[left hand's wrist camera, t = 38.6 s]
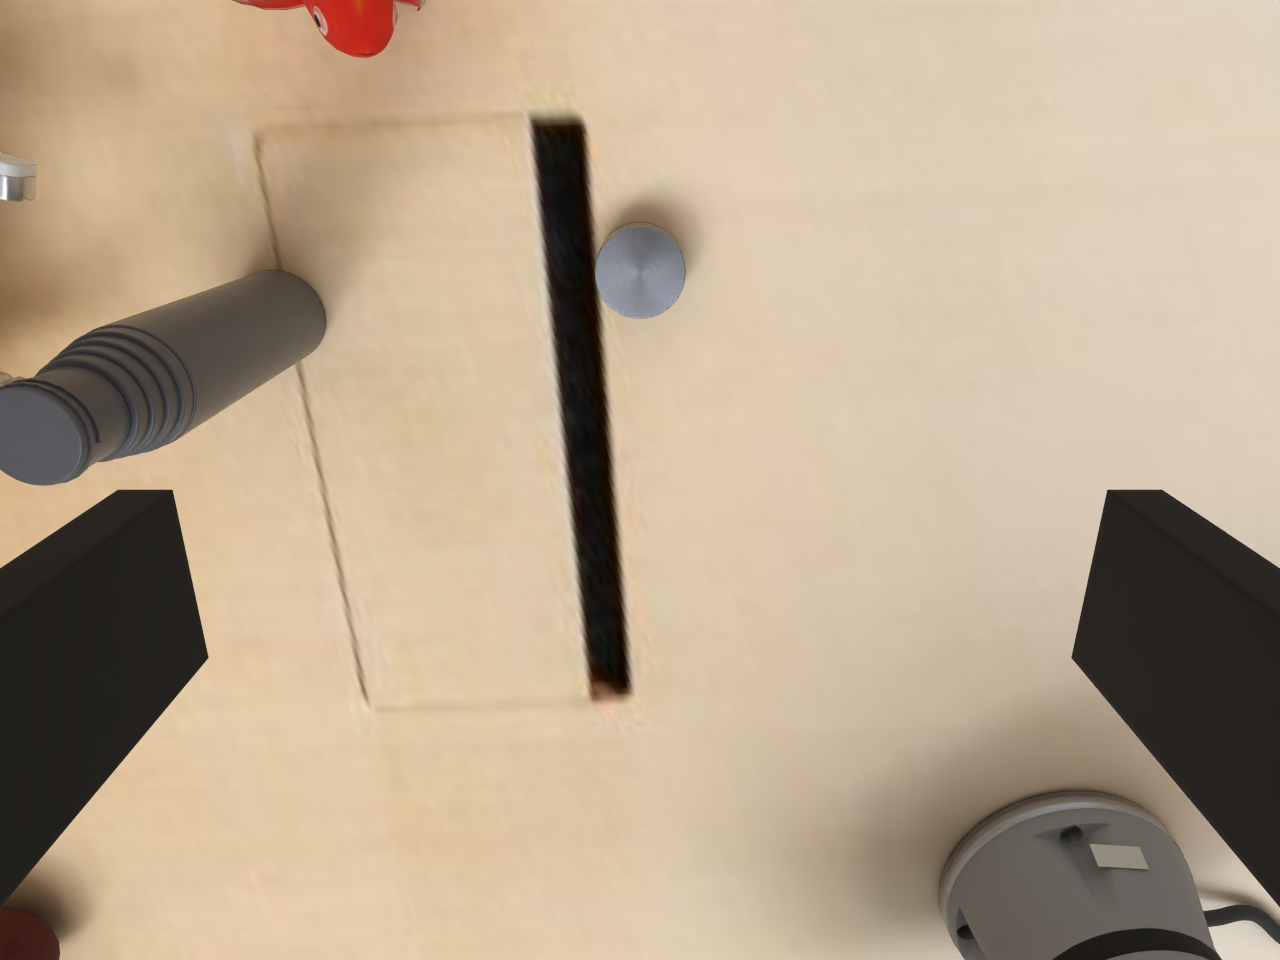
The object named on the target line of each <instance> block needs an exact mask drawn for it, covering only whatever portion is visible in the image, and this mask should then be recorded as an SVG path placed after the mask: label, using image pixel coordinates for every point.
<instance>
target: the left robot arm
mask: <svg viewBox="0 0 1280 960" xmlns="http://www.w3.org/2000/svg"><path fill="white" fill-rule="evenodd" d="M207 659H208V653H207V648H206V644H205V639H204V634H203V630H202V625H201V620H200V616H199V611H198V606H197V602H196V597H195V592H194V588H193V583H192V578H191V574H190V569H189V564H188V560H187V555H186V550H185V546H184V541H183V536H182V532H181V527H180V522H179V518H178V513H177V508H176V504H175V499H174V494H173V490H117V491H115V492H114V493H112V494H111V495H109V496H108V497H106V498H105V499H103V500H102V501H100V502H99V503H97V504H96V505H94V506H93V507H92V508H90V509H89V510H87V511H86V512H84V513H83V514H81V515H80V516H78V517H77V518H75V519H74V520H72V521H71V522H69V523H68V524H66V525H65V526H63V527H62V528H60V529H59V530H57V531H56V532H54V533H53V534H51V535H50V536H48V537H47V538H45V539H44V540H42V541H41V542H39V543H38V544H36V545H35V546H33V547H32V548H30V549H29V550H27V551H26V552H24V553H23V554H21V555H20V556H18V557H17V558H15V559H14V560H12V561H11V562H9V563H8V564H6V565H5V566H3V567H2V568H0V907H1V906H2V904H3V903H4V902H5V901H6V900H7V898H8V897H9V896H10V895H11V894H12V892H13V891H14V890H15V889H16V888H17V886H18V885H19V884H20V883H21V882H22V880H23V879H24V878H25V877H26V876H27V874H28V873H29V872H30V871H31V870H32V868H33V867H34V866H35V865H36V864H37V862H38V861H39V860H40V859H41V858H42V857H43V855H44V854H45V853H46V852H47V851H48V849H49V848H50V847H51V846H52V845H53V843H54V842H55V841H56V840H57V839H58V837H59V836H60V835H61V834H62V833H63V831H64V830H65V829H66V828H67V827H68V825H69V824H70V823H71V822H72V821H73V819H74V818H75V817H76V816H77V815H78V813H79V812H80V811H81V810H82V809H83V807H84V806H85V805H86V804H87V803H88V801H89V800H90V799H91V798H92V797H93V795H94V794H95V793H96V792H97V791H98V789H99V788H100V787H101V786H102V785H103V783H104V782H105V781H106V780H107V779H108V777H109V776H110V775H111V774H112V773H113V772H114V770H115V769H116V768H117V767H118V766H119V764H120V763H121V762H122V761H123V760H124V758H125V757H126V756H127V755H128V754H129V752H130V751H131V750H132V749H133V748H134V746H135V745H136V744H137V743H138V742H139V740H140V739H141V738H142V737H143V736H144V734H145V733H146V732H147V731H148V730H149V728H150V727H151V726H152V725H153V724H154V722H155V721H156V720H157V719H158V718H159V716H160V715H161V714H162V713H163V712H164V710H165V709H166V708H167V707H168V706H169V704H170V703H171V702H172V701H173V700H174V698H175V697H176V696H177V695H178V694H179V693H180V691H181V690H182V689H183V688H184V687H185V685H186V684H187V683H188V682H189V681H190V679H191V678H192V677H193V676H194V675H195V673H196V672H197V671H198V670H199V669H200V667H201V666H202V665H203V664H204V663H205V661H206V660H207ZM1072 659H1073V660H1074V661H1075V663H1076V664H1077V665H1078V666H1079V667H1080V669H1081V670H1082V671H1083V672H1084V673H1085V675H1086V676H1087V677H1088V678H1089V679H1090V681H1091V682H1092V683H1093V684H1094V685H1095V687H1096V688H1097V689H1098V690H1099V691H1100V693H1101V694H1102V695H1103V696H1104V697H1105V698H1106V700H1107V701H1108V702H1109V703H1110V704H1111V706H1112V707H1113V708H1114V709H1115V710H1116V712H1117V713H1118V714H1119V715H1120V716H1121V718H1122V719H1123V720H1124V721H1125V722H1126V724H1127V725H1128V726H1129V727H1130V728H1131V730H1132V731H1133V732H1134V733H1135V734H1136V736H1137V737H1138V738H1139V739H1140V740H1141V742H1142V743H1143V744H1144V745H1145V746H1146V748H1147V749H1148V750H1149V751H1150V752H1151V754H1152V755H1153V756H1154V757H1155V758H1156V760H1157V761H1158V762H1159V763H1160V764H1161V766H1162V767H1163V768H1164V769H1165V770H1166V772H1167V773H1168V774H1169V775H1170V776H1171V777H1172V779H1173V780H1174V781H1175V782H1176V783H1177V785H1178V786H1179V787H1180V788H1181V789H1182V791H1183V792H1184V793H1185V794H1186V795H1187V797H1188V798H1189V799H1190V800H1191V801H1192V803H1193V804H1194V805H1195V806H1196V807H1197V809H1198V810H1199V811H1200V812H1201V813H1202V815H1203V816H1204V817H1205V818H1206V819H1207V821H1208V822H1209V823H1210V824H1211V825H1212V827H1213V828H1214V829H1215V830H1216V831H1217V833H1218V834H1219V835H1220V836H1221V837H1222V839H1223V840H1224V841H1225V842H1226V843H1227V845H1228V846H1229V847H1230V848H1231V849H1232V851H1233V852H1234V853H1235V854H1236V855H1237V857H1238V858H1239V859H1240V860H1241V861H1242V862H1243V864H1244V865H1245V866H1246V867H1247V868H1248V870H1249V871H1250V872H1251V873H1252V874H1253V876H1254V877H1255V878H1256V879H1257V880H1258V882H1259V883H1260V884H1261V885H1262V886H1263V888H1264V889H1265V890H1266V891H1267V892H1268V894H1269V895H1270V896H1271V897H1272V898H1273V900H1274V901H1275V902H1276V903H1277V904H1278V906H1279V907H1280V568H1278V567H1277V566H1275V565H1274V564H1272V563H1271V562H1269V561H1268V560H1266V559H1265V558H1263V557H1262V556H1260V555H1259V554H1257V553H1256V552H1254V551H1253V550H1251V549H1250V548H1248V547H1247V546H1245V545H1244V544H1242V543H1241V542H1239V541H1238V540H1236V539H1235V538H1233V537H1232V536H1230V535H1229V534H1227V533H1226V532H1224V531H1223V530H1221V529H1220V528H1218V527H1217V526H1215V525H1214V524H1212V523H1211V522H1209V521H1208V520H1206V519H1205V518H1203V517H1202V516H1200V515H1199V514H1197V513H1196V512H1194V511H1193V510H1191V509H1190V508H1188V507H1187V506H1186V505H1184V504H1183V503H1181V502H1180V501H1178V500H1177V499H1175V498H1174V497H1172V496H1171V495H1169V494H1168V493H1166V492H1165V491H1163V490H1107V494H1106V499H1105V504H1104V508H1103V513H1102V518H1101V522H1100V527H1099V532H1098V536H1097V541H1096V546H1095V550H1094V555H1093V560H1092V564H1091V569H1090V574H1089V578H1088V583H1087V588H1086V592H1085V597H1084V602H1083V606H1082V611H1081V616H1080V620H1079V625H1078V630H1077V634H1076V639H1075V644H1074V648H1073V653H1072ZM939 901H940V907H941V912H942V915H943V918H944V921H945V923H946V926H947V928H948V931H949V933H950V936H951V938H952V940H953V942H954V944H955V946H956V947H957V949H958V950H959V952H960V953H961V955H962V957H963V958H964V959H965V960H1222V959H1221V958H1220V956H1219V955H1218V953H1217V952H1216V950H1215V948H1214V945H1213V942H1212V939H1211V935H1210V932H1209V929H1208V927H1212V926H1219V925H1225V924H1228V923H1232V922H1236V921H1241V920H1249V921H1253V922H1255V923H1257V924H1258V925H1260V926H1261V927H1262V928H1263V929H1264V930H1265V931H1266V932H1267V933H1268V934H1269V935H1270V936H1271V937H1272V938H1273V939H1274V940H1275V941H1276V942H1277V943H1279V944H1280V926H1279V925H1278V924H1277V923H1276V922H1275V921H1274V920H1273V919H1272V918H1271V917H1270V916H1269V915H1268V914H1266V913H1265V912H1264V911H1262V910H1260V909H1258V908H1254V907H1251V906H1247V905H1233V906H1228V907H1224V908H1221V909H1216V910H1209V911H1203V910H1202V906H1201V903H1200V900H1199V897H1198V893H1197V890H1196V887H1195V884H1194V881H1193V878H1192V874H1191V871H1190V868H1189V866H1188V864H1187V862H1186V860H1185V858H1184V856H1183V854H1182V852H1181V850H1180V848H1179V847H1178V845H1177V844H1176V842H1175V841H1174V840H1173V838H1172V837H1171V836H1170V834H1169V833H1168V832H1167V830H1166V829H1165V828H1164V827H1163V825H1162V824H1161V823H1160V822H1159V821H1158V820H1157V819H1156V818H1155V817H1154V816H1153V815H1152V814H1151V813H1150V812H1148V811H1147V810H1145V809H1144V808H1142V807H1141V806H1139V805H1137V804H1135V803H1133V802H1131V801H1129V800H1126V799H1124V798H1121V797H1117V796H1114V795H1110V794H1105V793H1100V792H1091V791H1065V792H1057V793H1050V794H1045V795H1040V796H1037V797H1033V798H1029V799H1026V800H1024V801H1021V802H1018V803H1016V804H1013V805H1011V806H1009V807H1007V808H1005V809H1003V810H1001V811H999V812H997V813H995V814H994V815H992V816H991V817H989V818H987V819H986V820H984V821H983V822H982V823H981V824H979V825H978V826H977V827H975V828H974V829H973V830H972V831H971V832H970V833H969V834H968V835H967V836H966V837H965V838H964V839H963V840H962V841H961V842H960V844H959V845H958V846H957V847H956V849H955V850H954V852H953V853H952V855H951V856H950V858H949V860H948V862H947V864H946V866H945V868H944V871H943V874H942V878H941V882H940V890H939Z"/></svg>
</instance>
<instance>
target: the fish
mask: <svg viewBox="0 0 1280 960" xmlns="http://www.w3.org/2000/svg"><path fill="white" fill-rule="evenodd" d="M233 1H236V2H238V3H240V4H245V5H252V6H256V7H258V8H261V9H264V10H288V9H294V8H299V7H304V6H306V7H307V9H308V11H309V12H310V14H311V16H312V17H313V19H314V21H315V23H316V24H317V26H318V28H319V30H320V32H321V34H322V35H323V37H324V38H325V39H326V40H327V41H328V42H329V43H330V44H331V45H332V46H333V47H334V48H336V49H337V50H339V51H342V52H344V53H346V54H348V55H350V56H353V57H362V58H368V57H372V56H375V55H377V54H378V53H380V52H381V51H382V50H384V49H385V47H386V46H387V44H388V42H389V40H390V39H391V37H392V34H393V30H394V28H395V26H396V23H397V9H396V6H395V4H394V2H393V1H396V2H400V3H404V4H409V5H414V6H417V7H419V8H418V10H417V11H419V10H420V9H421V8H422V6H423V5H424V4H425V1H424V0H233Z"/></svg>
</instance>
